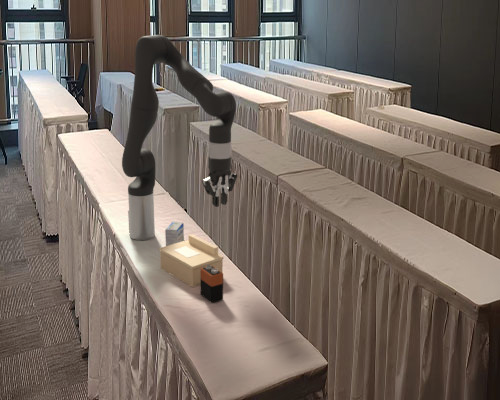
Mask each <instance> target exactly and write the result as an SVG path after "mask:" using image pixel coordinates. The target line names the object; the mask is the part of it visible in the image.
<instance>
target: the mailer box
mask: <svg viewBox="0 0 500 400" xmlns="http://www.w3.org/2000/svg"><path fill="white" fill-rule="evenodd" d="M159 253H160V255H159V257H160V269H161V270H163V271H165V272H166V273H168V274H170V275H171V276H172V277H174V278H177V279H178V280H179V281H181V282H183V283H185V284H187V285H188V286H190V287H192V288H195V287H197V286H201V268H204V267H206V266H207V265H205V266H202V267H199V268H196V269H193V270H192V269H190V268H189V267H187V266H185V265H183V264H182V263H180V262H178V261H176V260H175V259H173V258H171V257H169V256H167V255H166V254H164V253H162V252H160V251H159ZM223 262H224V259H223V260H220V261H217V262H214V263H211V264H208V265H211V266H213V267H215V268H216V269H218V270H219V271H221V272H222V273H223Z"/></svg>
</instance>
